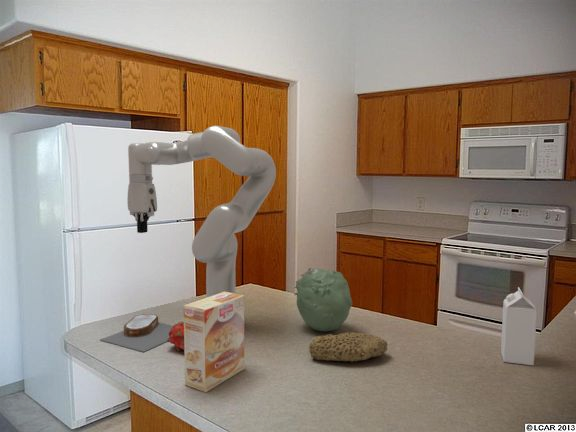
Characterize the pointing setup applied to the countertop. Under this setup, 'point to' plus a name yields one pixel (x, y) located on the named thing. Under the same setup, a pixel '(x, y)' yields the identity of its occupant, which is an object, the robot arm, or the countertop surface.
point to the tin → (141, 325)
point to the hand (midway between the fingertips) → (142, 232)
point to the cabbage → (323, 299)
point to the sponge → (347, 347)
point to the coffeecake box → (213, 340)
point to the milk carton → (518, 329)
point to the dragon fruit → (177, 336)
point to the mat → (141, 339)
